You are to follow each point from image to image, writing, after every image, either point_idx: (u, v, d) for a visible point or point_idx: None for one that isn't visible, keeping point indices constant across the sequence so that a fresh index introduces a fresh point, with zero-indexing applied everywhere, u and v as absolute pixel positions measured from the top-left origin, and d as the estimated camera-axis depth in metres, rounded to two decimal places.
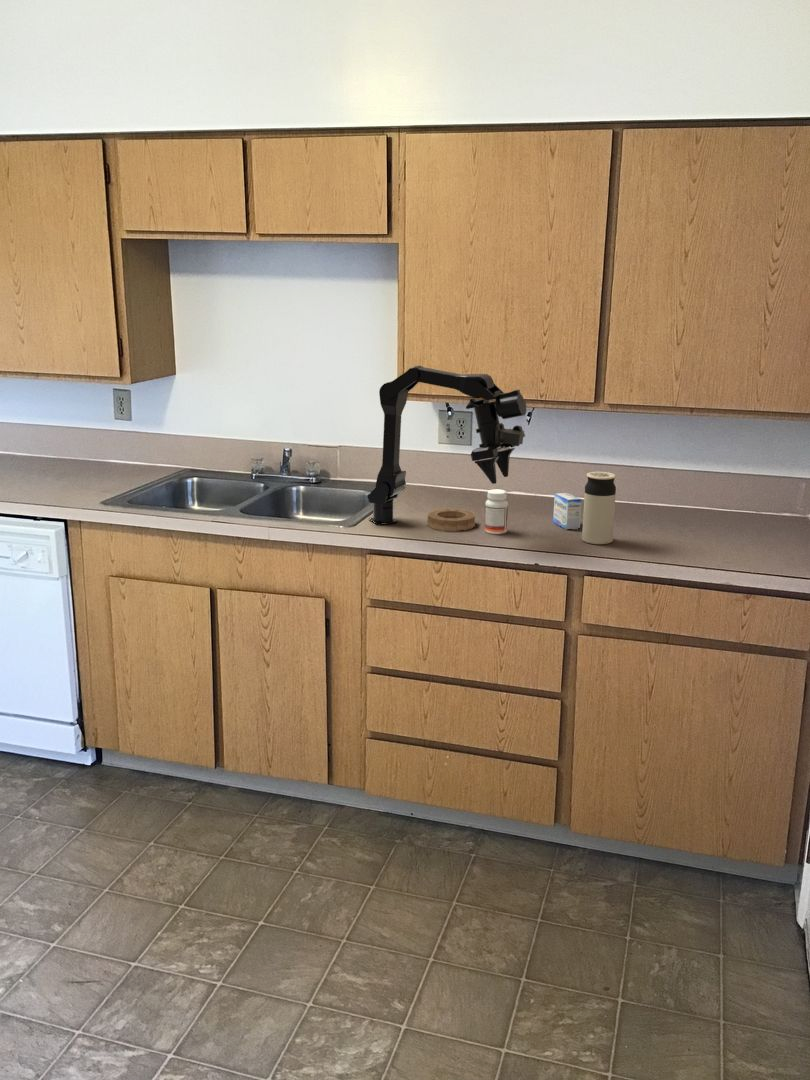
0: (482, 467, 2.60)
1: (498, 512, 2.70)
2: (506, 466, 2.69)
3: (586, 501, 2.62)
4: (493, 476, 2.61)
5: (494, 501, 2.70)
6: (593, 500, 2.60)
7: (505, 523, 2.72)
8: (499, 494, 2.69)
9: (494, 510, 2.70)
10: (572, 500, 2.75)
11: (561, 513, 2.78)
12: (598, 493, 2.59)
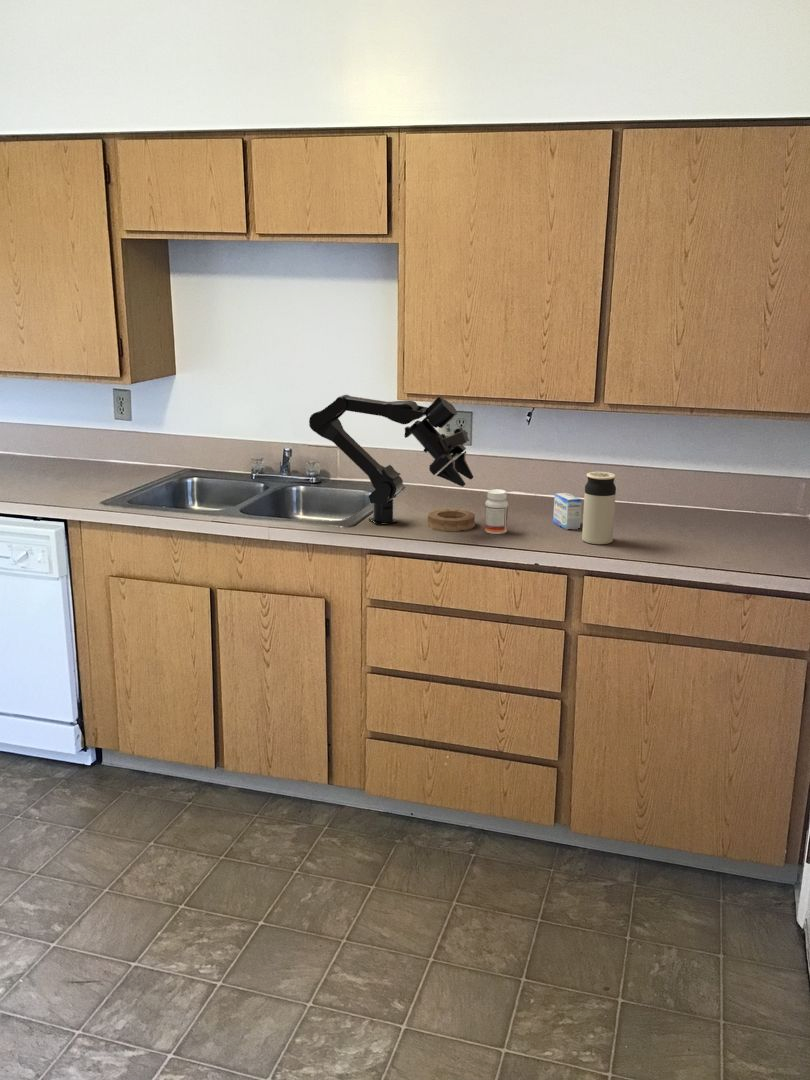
0: (446, 477, 2.68)
1: (498, 512, 2.70)
2: (467, 469, 2.77)
3: (586, 501, 2.62)
4: (459, 479, 2.68)
5: (494, 501, 2.70)
6: (593, 500, 2.60)
7: (505, 523, 2.72)
8: (499, 494, 2.69)
9: (494, 510, 2.70)
10: (572, 500, 2.75)
11: (561, 513, 2.78)
12: (598, 493, 2.59)
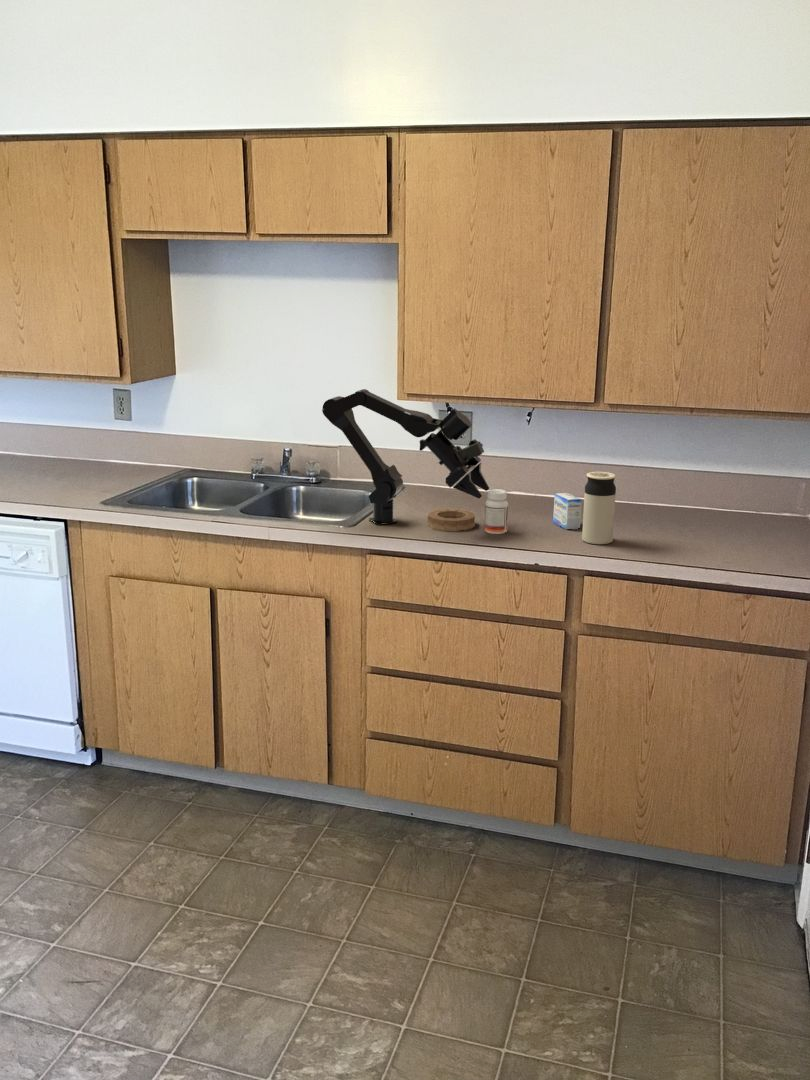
0: (462, 489, 2.68)
1: (498, 512, 2.70)
2: (483, 480, 2.77)
3: (586, 501, 2.62)
4: (476, 491, 2.68)
5: (494, 501, 2.70)
6: (593, 500, 2.60)
7: (505, 523, 2.72)
8: (499, 494, 2.69)
9: (494, 510, 2.70)
10: (572, 500, 2.75)
11: (561, 513, 2.78)
12: (598, 493, 2.59)
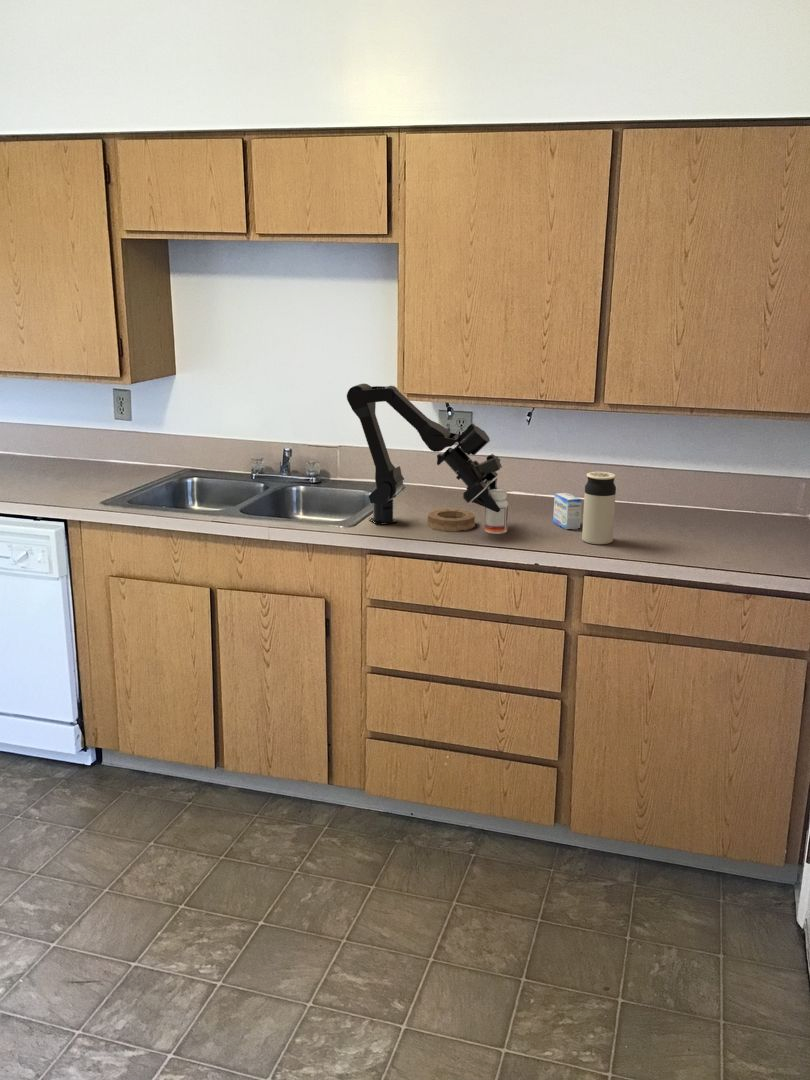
0: (481, 503, 2.69)
1: (498, 512, 2.70)
2: None
3: (586, 501, 2.62)
4: (494, 505, 2.69)
5: None
6: (593, 500, 2.60)
7: (505, 523, 2.72)
8: (499, 494, 2.69)
9: None
10: (572, 500, 2.75)
11: (561, 513, 2.78)
12: (598, 493, 2.59)
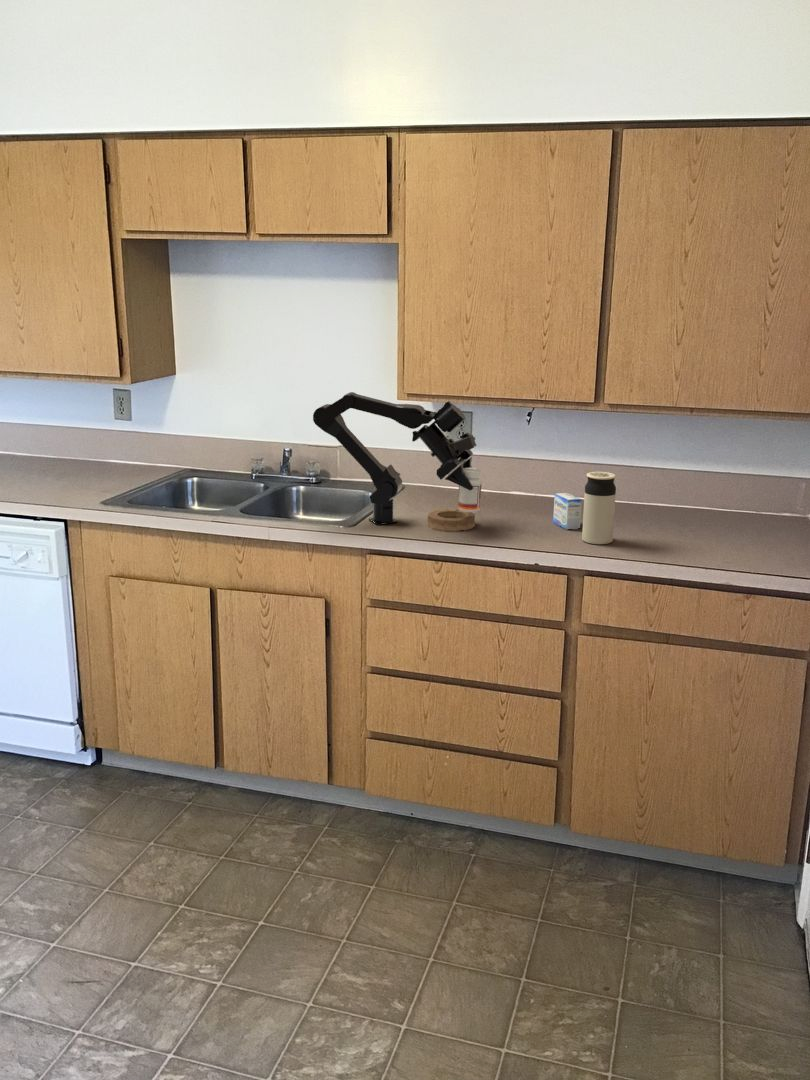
0: (454, 480, 2.71)
1: (471, 490, 2.72)
2: None
3: (586, 501, 2.62)
4: (467, 483, 2.71)
5: None
6: (593, 500, 2.60)
7: (478, 501, 2.74)
8: (473, 472, 2.71)
9: None
10: (572, 500, 2.75)
11: (561, 513, 2.78)
12: (598, 493, 2.59)
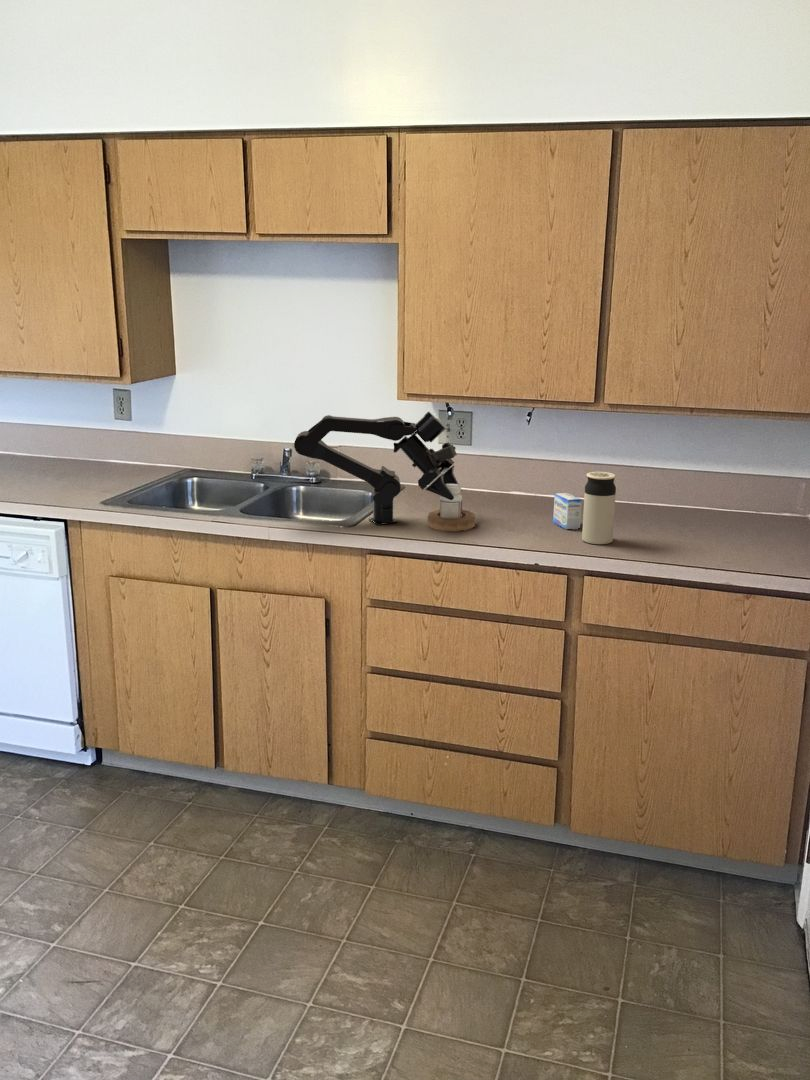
0: (435, 491, 2.73)
1: (452, 506, 2.76)
2: (455, 483, 2.82)
3: (586, 501, 2.62)
4: (448, 493, 2.73)
5: None
6: (593, 500, 2.60)
7: (459, 517, 2.79)
8: (453, 488, 2.76)
9: (448, 504, 2.76)
10: (572, 500, 2.75)
11: (561, 513, 2.78)
12: (598, 493, 2.59)
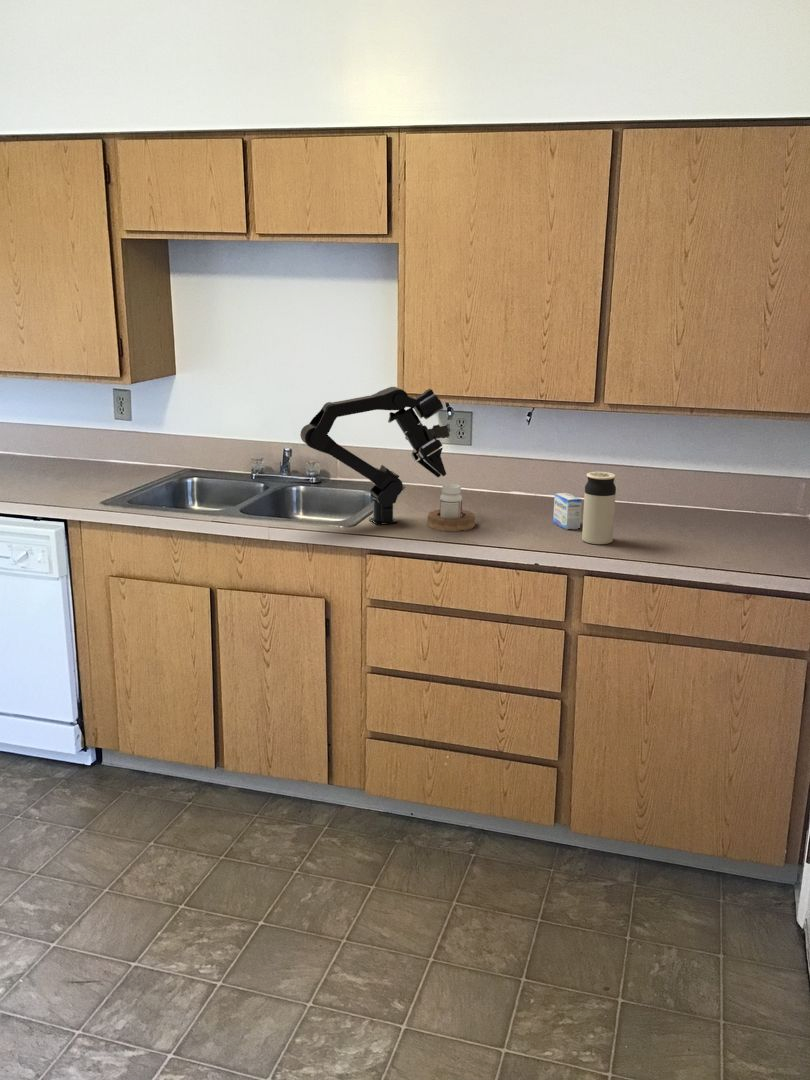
0: (431, 463, 2.73)
1: (452, 506, 2.76)
2: None
3: (586, 501, 2.62)
4: (442, 468, 2.74)
5: (448, 495, 2.77)
6: (593, 500, 2.60)
7: (459, 517, 2.79)
8: (453, 488, 2.76)
9: (448, 504, 2.76)
10: (572, 500, 2.75)
11: (561, 513, 2.78)
12: (598, 493, 2.59)
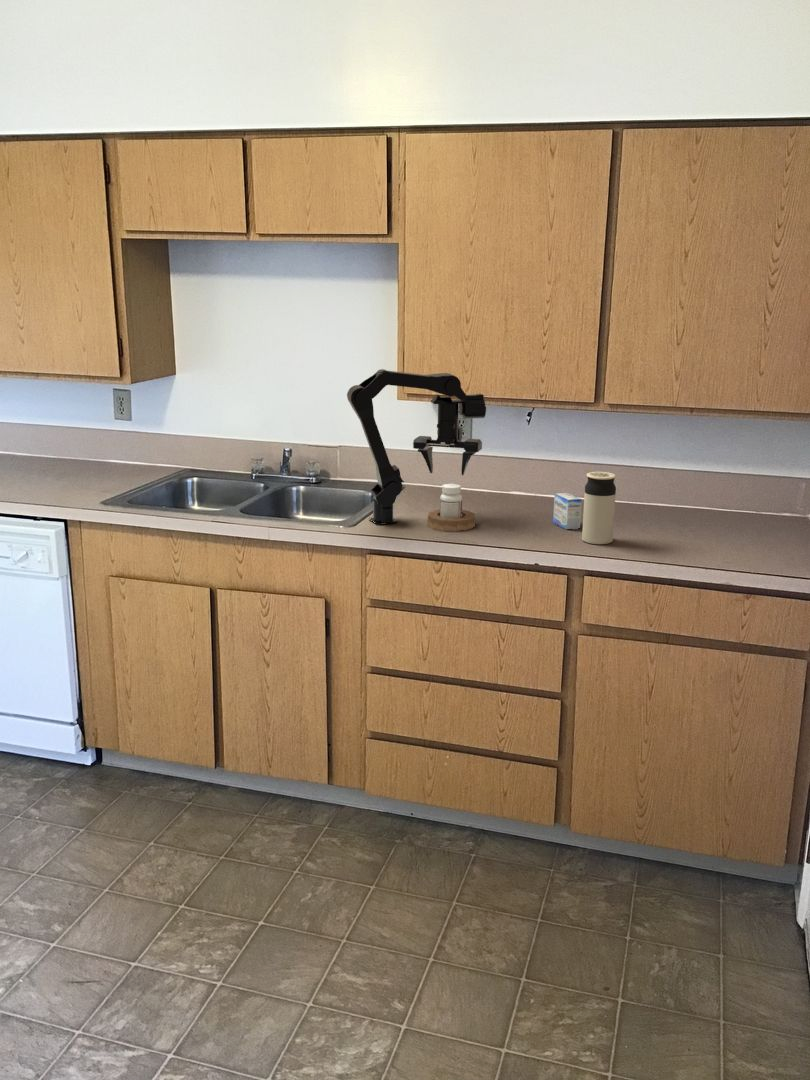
0: (467, 459, 2.80)
1: (452, 506, 2.76)
2: (432, 463, 2.86)
3: (586, 501, 2.62)
4: None
5: (448, 495, 2.77)
6: (593, 500, 2.60)
7: (459, 517, 2.79)
8: (453, 488, 2.76)
9: (448, 504, 2.76)
10: (572, 500, 2.75)
11: (561, 513, 2.78)
12: (598, 493, 2.59)
